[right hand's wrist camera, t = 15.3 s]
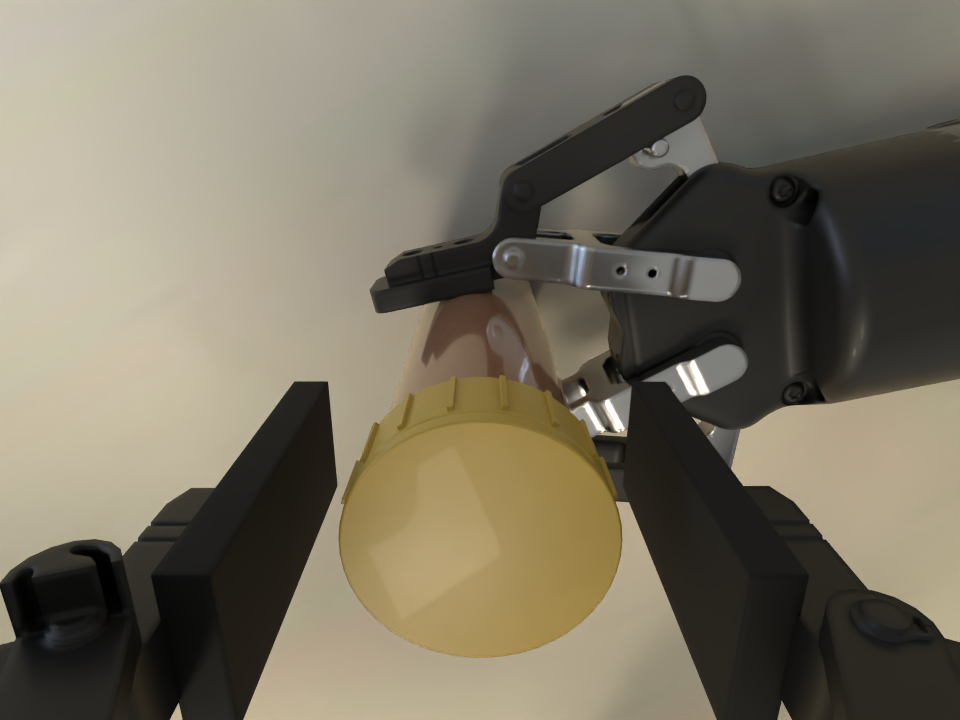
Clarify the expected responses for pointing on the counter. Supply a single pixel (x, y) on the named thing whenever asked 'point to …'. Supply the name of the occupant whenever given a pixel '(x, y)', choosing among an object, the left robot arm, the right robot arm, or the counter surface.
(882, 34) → the counter surface
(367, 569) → the lid
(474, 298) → the jar
